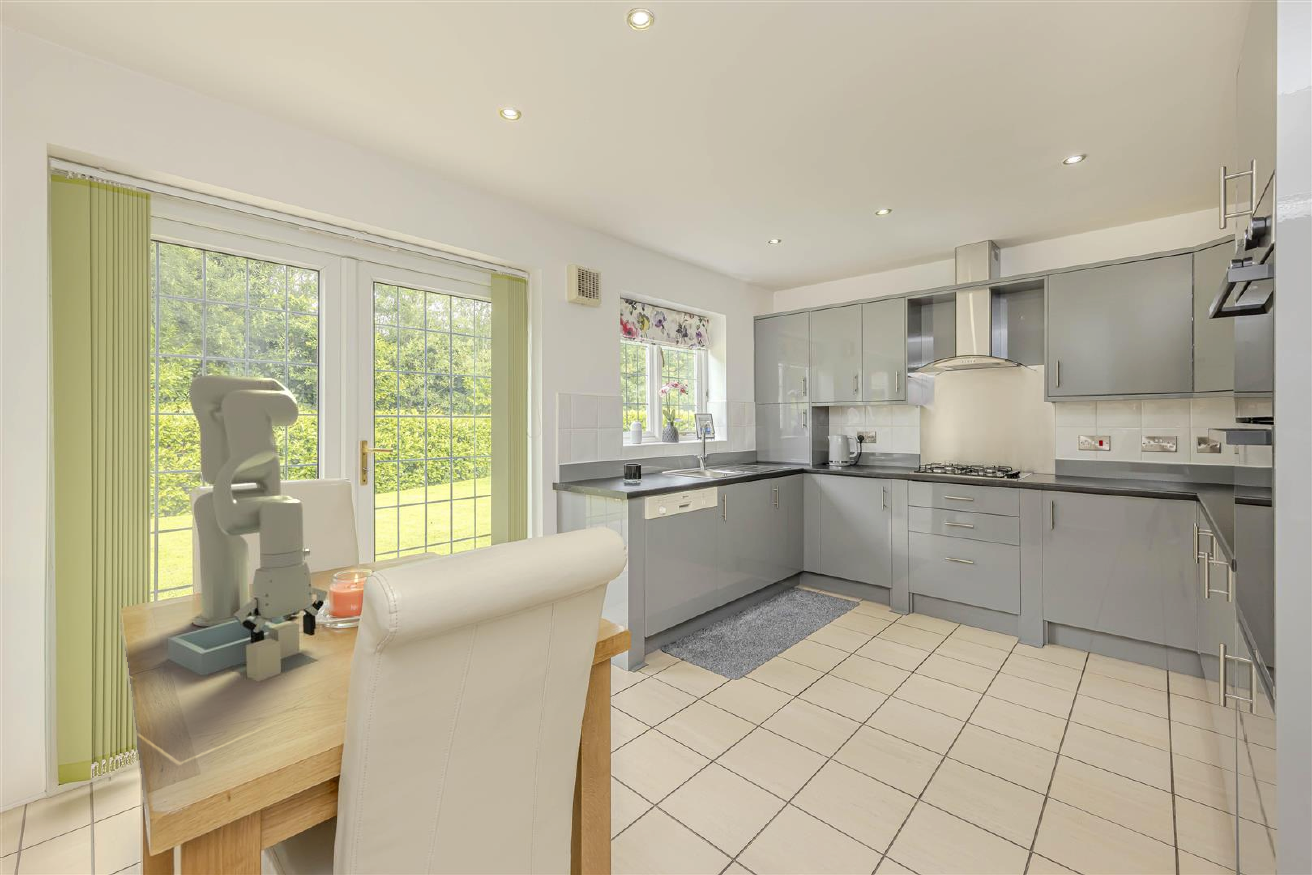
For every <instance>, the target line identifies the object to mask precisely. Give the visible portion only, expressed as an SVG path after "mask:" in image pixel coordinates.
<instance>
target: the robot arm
mask: <svg viewBox="0 0 1312 875" xmlns="http://www.w3.org/2000/svg"><path fill="white" fill-rule="evenodd" d="M188 390H189V392H188V393H189V394H188V395H189V396H188V397H189V402H190V407H191V409H192V412H193V414H194V417H195V418H196V421H197V423H198V427H199V433H200V434H199V435H200V436H199V440H200V443H199V444H200V469H201V470H200V471H201V477H202V479H203V481H204V482H205V483H207V484H209V485H213V487H212V491H209V492H206V493H203V494H201V495H200V496H198V497H197V498H196V500H194V503H193V504H194V505H193V515H194V520H195V524H196V528H197V534H198V542H199V543H198V545H199V561H200V562H199V565H200V566H199V568H200V570H199V572H200V573H199V574H200V575H199V576H200V606H201V608H200V609H201V613H199V614H197V615H196V616H194V617H193V619H192V623H193V625H194V626H196V627H197V626H199V627H212V626H216V625H220V624H223V623H227V622H231V621H235V620H238V622H239V623H240V625H242V626H243V627H245V628H247V629H248V630H250V632H251V644H252V643H255V642H259V641H262V640H264V631H262V630H261V629H262V627H263V626H264V624H265V623H266V622H267V620H269V619H274V618H277V617H281V616H285V615H288V614H292V613H296V612H299V611H300V612H303V613H305V614H303V616H302V629H303V632H302V633H303V634H304V635H308V636H314V635H315V633H316V632H315V631H316V621H317V619H316V616H317V615H319V611H320V609H321V608H322V607H323V606H324V601H325V600H326V597H327V596H328V591H327V590H323V589H319V588H317V587H316V588H315V587H313V583H312V577H311V572H310V568H309V565H308V562H306V561H305V560H306V557H307V556H309V555H310V554H311V550H310V548H307V549H305V547H304V517H303V516H304V514H303V513H304V512H303V511H304V510H303V504H302V501H300V500H299V499H296V498H292V497H291V496H290V495H285V494H284V495H283V494H282V493H281V491H282V490H281V489H282V487H281V462H280V457H279V455H278V446H277V441H276V437H275V433H274V429H273V427H291V426H293V425H295V424H296V422H297V420H298V418H299V406H298V403H297V400H296V397H295V396H294V395H293V394H292V392H291V391H290V390H289V389H288V388H287V387H286V386H284V385H283V384H282V383H281V382H279V381H278V380H276V379H274V378H270V377H259V376H258V377H257V376H239V375H221V374H220V375H219V374H215V375H213V374H212V375H203V376H202V375H201V376H199V377H196V378H194V379H193V380H192V381H191V383H190V386H189V389H188ZM239 484H240V485H241V484H242V485H243V484H256V487H253V488H252V487H251V488H248V487H247V488H235V489H232V485H239ZM281 494H282V495H281ZM257 533H259V562H260V563H259V564H260V568H256V569H255V572H254V576H253V581H252V588H251V596H250V567H249V566H250V561H249V559H250V558H249V544H248V542H247V540H246V539H245V538H244V537H243V535H252V534H257ZM314 595H315V596H316V600H313V599H314ZM250 597H251V599H250ZM250 600H251V601H250ZM250 612H251V614H252V616H254V618H253V620H252V621H249V620H248V618H247V617H250V616H248V613H250Z"/></svg>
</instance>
